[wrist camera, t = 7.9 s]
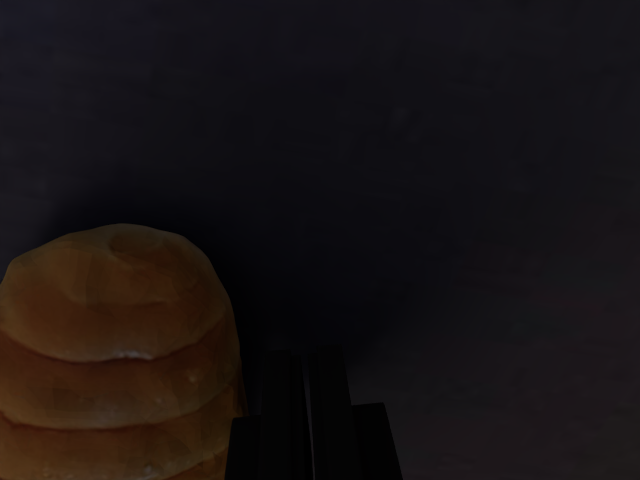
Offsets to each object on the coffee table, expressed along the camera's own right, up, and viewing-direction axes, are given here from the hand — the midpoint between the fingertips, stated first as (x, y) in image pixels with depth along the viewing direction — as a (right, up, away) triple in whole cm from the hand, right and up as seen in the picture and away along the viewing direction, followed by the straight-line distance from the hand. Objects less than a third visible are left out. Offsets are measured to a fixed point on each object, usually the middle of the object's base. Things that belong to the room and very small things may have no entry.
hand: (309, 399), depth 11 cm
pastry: (-5, 0, +2) cm, 5 cm away
